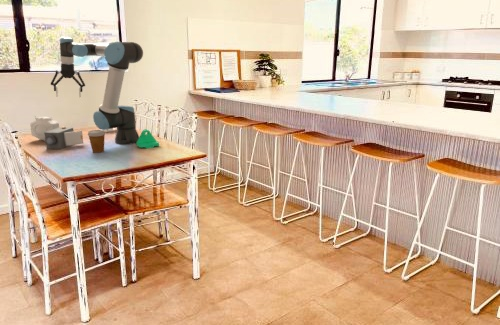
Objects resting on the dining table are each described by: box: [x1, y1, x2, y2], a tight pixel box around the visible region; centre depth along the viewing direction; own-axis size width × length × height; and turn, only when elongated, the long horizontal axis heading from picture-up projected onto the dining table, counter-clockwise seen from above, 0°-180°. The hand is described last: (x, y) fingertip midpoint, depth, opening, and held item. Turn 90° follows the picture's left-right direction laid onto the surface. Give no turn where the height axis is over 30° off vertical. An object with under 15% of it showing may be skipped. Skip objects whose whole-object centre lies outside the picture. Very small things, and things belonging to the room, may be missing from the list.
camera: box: [30, 115, 60, 142], centre depth 263 cm, size 11×18×16 cm, turn 76°
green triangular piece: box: [136, 129, 160, 149], centre depth 247 cm, size 12×8×10 cm, turn 119°
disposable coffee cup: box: [87, 129, 106, 154], centre depth 235 cm, size 10×10×12 cm
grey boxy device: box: [44, 126, 75, 150], centre depth 248 cm, size 19×9×11 cm, turn 173°
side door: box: [64, 130, 84, 147], centre depth 249 cm, size 11×1×8 cm, turn 128°
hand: (68, 96), depth 263 cm, fingers open, 13 cm apart
